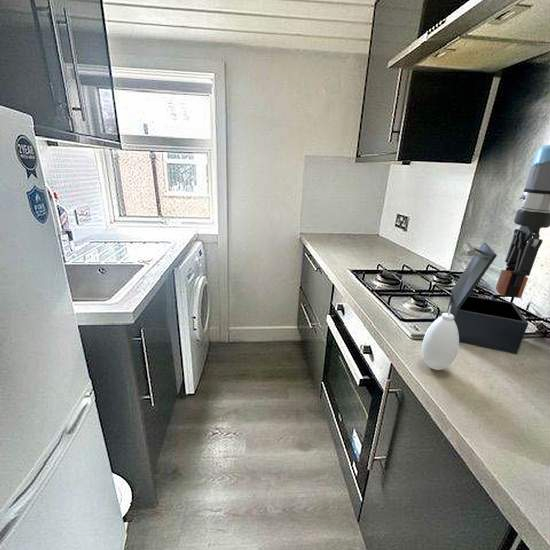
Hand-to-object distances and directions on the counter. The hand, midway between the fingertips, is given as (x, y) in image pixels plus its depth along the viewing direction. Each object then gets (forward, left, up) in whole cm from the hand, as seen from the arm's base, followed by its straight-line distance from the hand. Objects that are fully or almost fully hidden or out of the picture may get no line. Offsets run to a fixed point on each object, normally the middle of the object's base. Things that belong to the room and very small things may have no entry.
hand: (508, 292), depth 86 cm
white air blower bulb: (+14, +26, -16) cm, 33 cm away
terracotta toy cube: (0, 0, 0) cm, 0 cm away
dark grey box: (+4, +1, -15) cm, 16 cm away
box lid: (+9, +1, +3) cm, 10 cm away
